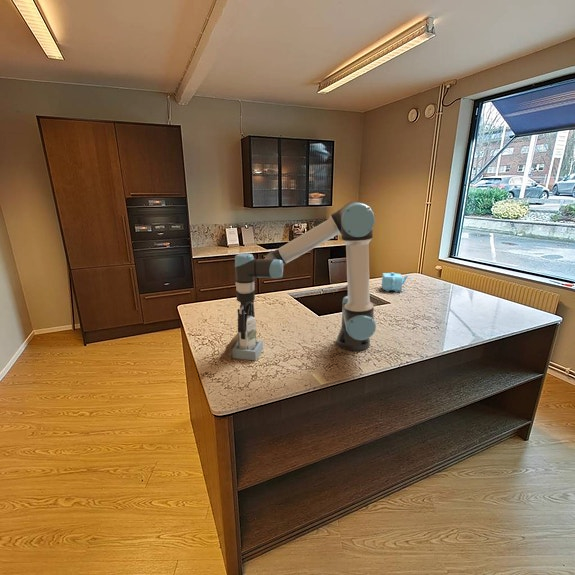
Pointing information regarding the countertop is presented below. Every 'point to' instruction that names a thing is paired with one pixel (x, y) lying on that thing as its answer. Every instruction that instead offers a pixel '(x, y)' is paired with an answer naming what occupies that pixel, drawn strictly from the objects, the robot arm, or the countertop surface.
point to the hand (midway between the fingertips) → (247, 340)
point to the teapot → (393, 281)
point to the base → (229, 349)
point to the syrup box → (249, 334)
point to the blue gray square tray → (247, 352)
